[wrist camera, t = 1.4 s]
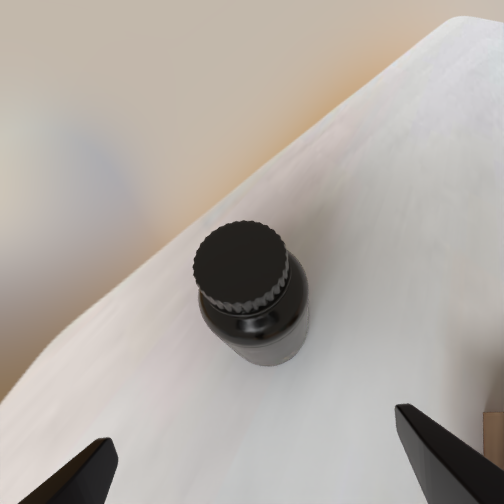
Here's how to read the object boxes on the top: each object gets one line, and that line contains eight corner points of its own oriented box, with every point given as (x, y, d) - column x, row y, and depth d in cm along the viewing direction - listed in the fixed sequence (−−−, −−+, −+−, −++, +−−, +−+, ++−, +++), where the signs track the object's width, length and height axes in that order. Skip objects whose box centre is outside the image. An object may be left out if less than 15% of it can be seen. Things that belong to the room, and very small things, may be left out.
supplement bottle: (218, 311, 24) (158, 237, 14) (283, 278, 25) (268, 185, 15) (249, 385, 21) (196, 355, 11) (324, 343, 21) (341, 278, 11)
